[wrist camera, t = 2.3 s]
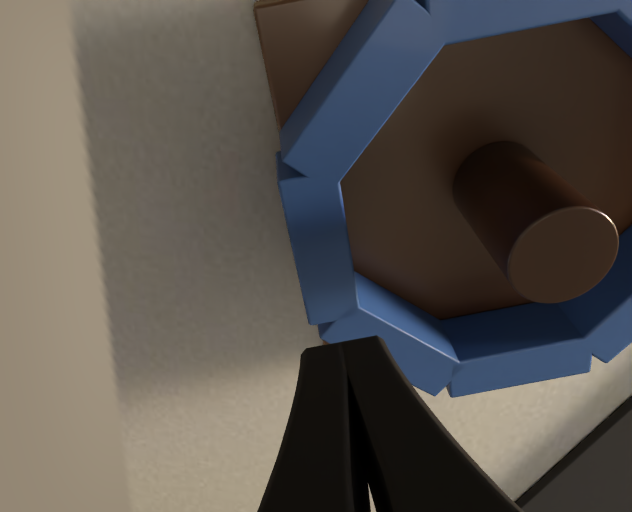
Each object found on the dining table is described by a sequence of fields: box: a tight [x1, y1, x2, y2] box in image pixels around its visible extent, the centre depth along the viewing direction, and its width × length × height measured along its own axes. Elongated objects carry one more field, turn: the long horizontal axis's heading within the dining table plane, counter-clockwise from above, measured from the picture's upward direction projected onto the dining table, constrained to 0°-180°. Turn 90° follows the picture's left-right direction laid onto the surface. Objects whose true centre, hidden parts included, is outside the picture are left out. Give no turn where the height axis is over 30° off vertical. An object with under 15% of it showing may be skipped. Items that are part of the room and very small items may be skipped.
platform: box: [253, 0, 632, 345], centre depth 14 cm, size 11×11×5 cm
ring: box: [275, 0, 632, 398], centre depth 14 cm, size 11×11×2 cm
